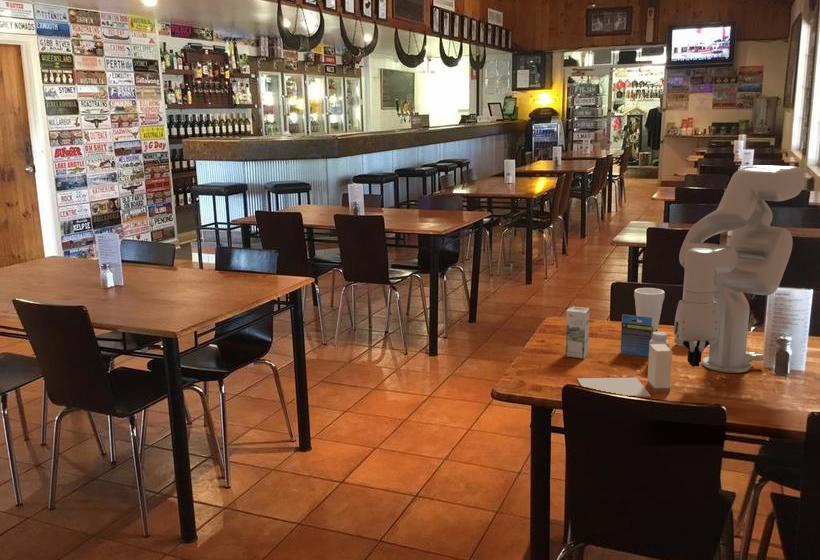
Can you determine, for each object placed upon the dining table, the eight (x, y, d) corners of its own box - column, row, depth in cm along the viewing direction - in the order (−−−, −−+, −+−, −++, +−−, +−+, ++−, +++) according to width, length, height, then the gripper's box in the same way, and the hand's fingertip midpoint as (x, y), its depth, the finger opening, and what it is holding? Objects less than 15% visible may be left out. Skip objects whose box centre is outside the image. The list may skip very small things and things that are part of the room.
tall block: (662, 383, 199) (664, 343, 196) (669, 391, 193) (672, 350, 190) (647, 383, 199) (649, 344, 196) (654, 391, 193) (656, 351, 190)
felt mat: (636, 378, 202) (636, 377, 202) (650, 396, 189) (650, 395, 189) (577, 379, 202) (577, 378, 202) (587, 397, 190) (587, 395, 190)
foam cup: (643, 323, 254) (645, 286, 252) (667, 329, 248) (670, 291, 245) (627, 328, 249) (629, 291, 246) (651, 334, 242) (653, 295, 239)
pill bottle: (643, 364, 214) (645, 331, 212) (659, 361, 216) (661, 329, 213) (656, 370, 209) (657, 336, 207) (671, 367, 211) (673, 334, 208)
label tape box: (652, 353, 223) (654, 314, 220) (650, 357, 219) (652, 317, 217) (622, 350, 227) (624, 311, 224) (619, 354, 223) (621, 314, 220)
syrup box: (588, 353, 224) (589, 307, 221) (584, 359, 219) (585, 312, 215) (569, 351, 226) (570, 305, 223) (564, 357, 221) (566, 310, 218)
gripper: (722, 292, 194) (717, 360, 198) (664, 293, 194) (660, 360, 198) (734, 299, 186) (728, 369, 190) (673, 300, 187) (669, 370, 191)
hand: (693, 364), depth 194 cm, fingers closed
